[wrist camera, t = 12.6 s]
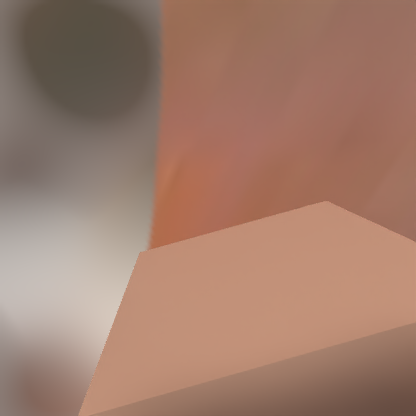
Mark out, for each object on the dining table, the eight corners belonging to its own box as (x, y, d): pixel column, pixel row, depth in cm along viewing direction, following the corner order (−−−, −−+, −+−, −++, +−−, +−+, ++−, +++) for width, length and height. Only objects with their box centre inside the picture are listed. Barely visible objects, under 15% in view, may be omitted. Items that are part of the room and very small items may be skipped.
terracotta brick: (326, 200, 8) (522, 291, 3) (347, 350, 10) (499, 553, 5) (139, 252, 8) (76, 419, 3) (192, 395, 10) (200, 642, 5)
